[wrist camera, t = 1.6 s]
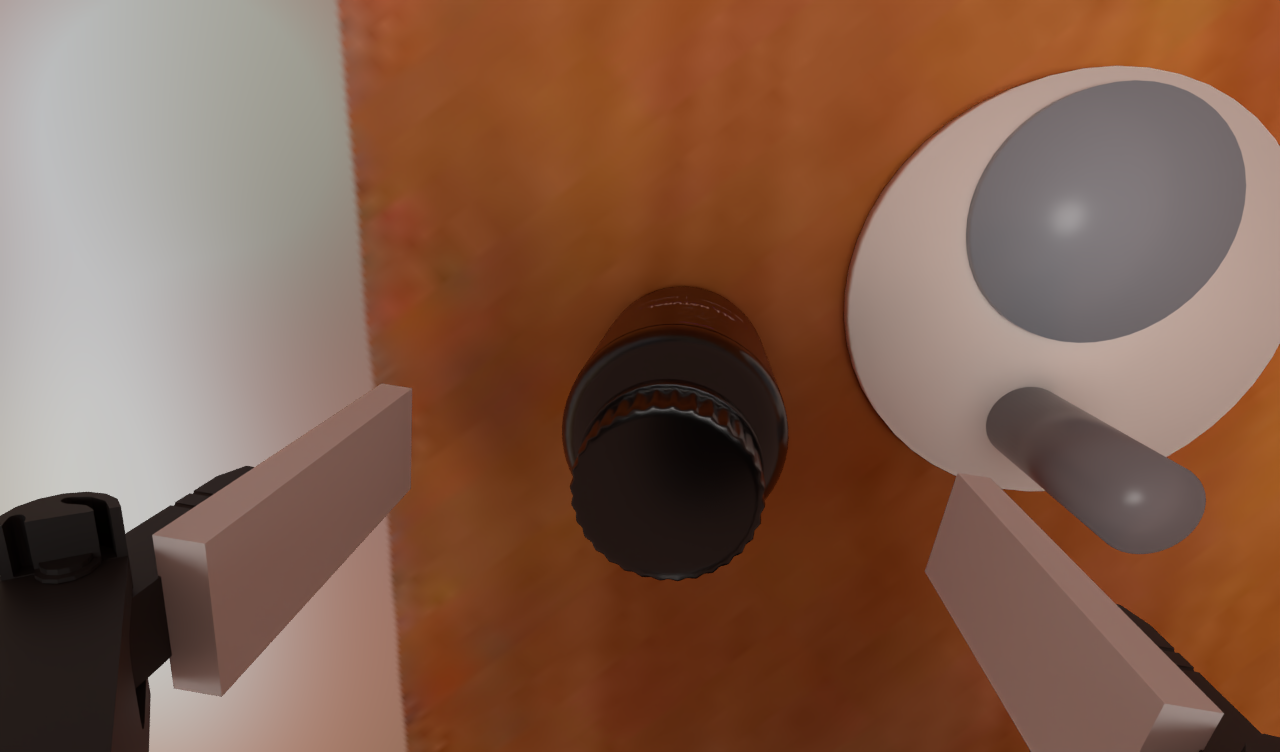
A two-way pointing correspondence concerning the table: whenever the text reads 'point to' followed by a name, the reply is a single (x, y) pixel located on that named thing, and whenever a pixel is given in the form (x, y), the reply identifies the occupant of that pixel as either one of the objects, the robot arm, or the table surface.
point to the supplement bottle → (674, 435)
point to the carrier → (1074, 291)
